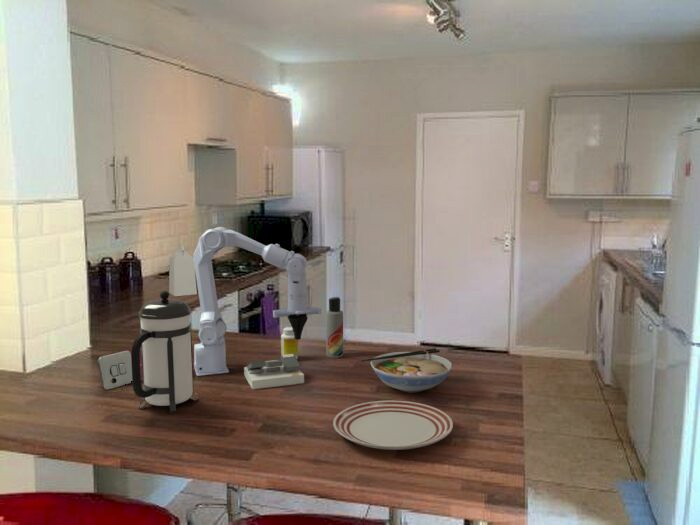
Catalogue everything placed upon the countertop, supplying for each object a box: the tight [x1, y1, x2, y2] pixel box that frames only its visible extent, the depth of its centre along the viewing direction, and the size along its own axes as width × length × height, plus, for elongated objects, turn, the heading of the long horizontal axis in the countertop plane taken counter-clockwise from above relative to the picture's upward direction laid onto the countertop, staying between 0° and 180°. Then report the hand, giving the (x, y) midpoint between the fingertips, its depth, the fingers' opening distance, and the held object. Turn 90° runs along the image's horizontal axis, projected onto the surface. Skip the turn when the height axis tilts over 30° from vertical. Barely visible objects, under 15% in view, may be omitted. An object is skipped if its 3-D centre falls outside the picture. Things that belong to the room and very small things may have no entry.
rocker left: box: [246, 360, 265, 370], centre depth 168 cm, size 4×7×2 cm, turn 20°
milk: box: [168, 243, 198, 297], centre depth 304 cm, size 12×12×26 cm
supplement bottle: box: [280, 326, 299, 360], centre depth 189 cm, size 6×6×10 cm
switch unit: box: [243, 365, 305, 390], centre depth 170 cm, size 15×13×4 cm
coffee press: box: [131, 290, 199, 414], centre depth 147 cm, size 17×16×30 cm
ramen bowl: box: [360, 347, 453, 394], centre depth 162 cm, size 25×23×8 cm
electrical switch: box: [96, 350, 132, 390], centre depth 165 cm, size 9×5×9 cm, turn 141°
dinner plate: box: [332, 400, 454, 451], centre depth 133 cm, size 28×27×3 cm
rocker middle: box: [264, 359, 283, 367], centre depth 169 cm, size 4×7×2 cm, turn 20°
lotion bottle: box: [325, 296, 344, 359], centre depth 192 cm, size 6×6×20 cm
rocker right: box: [280, 354, 301, 372], centre depth 171 cm, size 4×7×2 cm, turn 20°
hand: (297, 338), depth 175 cm, fingers closed
